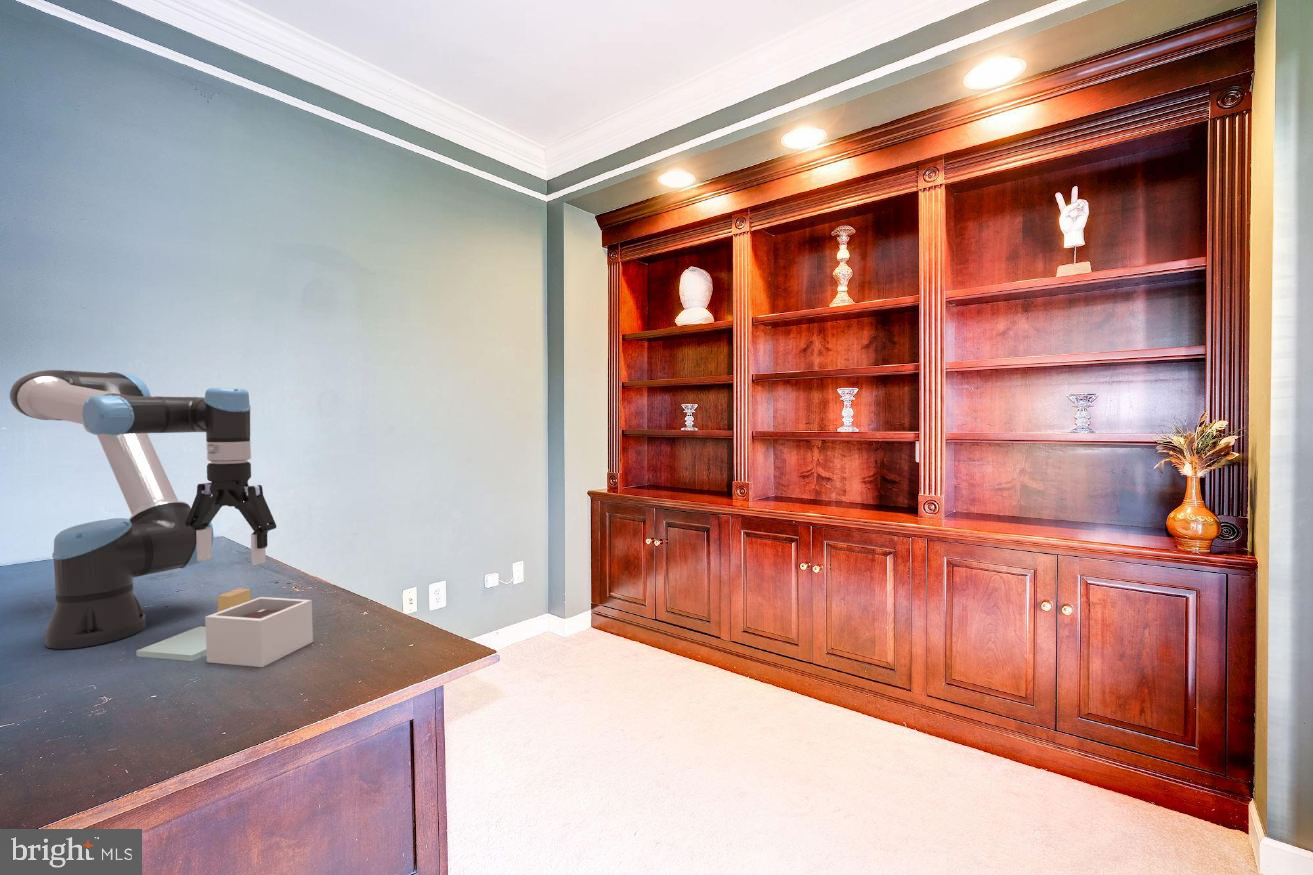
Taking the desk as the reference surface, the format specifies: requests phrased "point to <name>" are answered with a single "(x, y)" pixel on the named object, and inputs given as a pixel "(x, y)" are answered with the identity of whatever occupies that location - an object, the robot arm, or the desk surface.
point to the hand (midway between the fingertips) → (231, 561)
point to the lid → (192, 634)
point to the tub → (258, 632)
